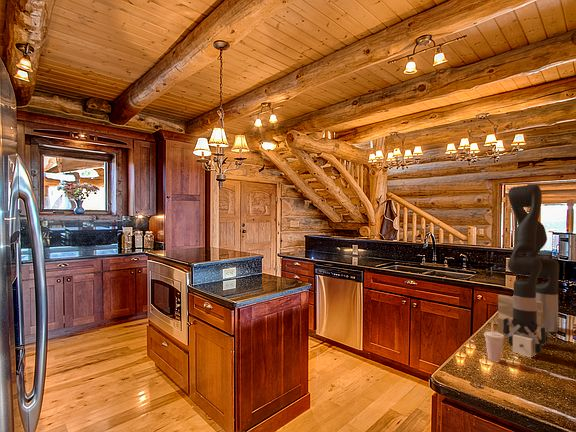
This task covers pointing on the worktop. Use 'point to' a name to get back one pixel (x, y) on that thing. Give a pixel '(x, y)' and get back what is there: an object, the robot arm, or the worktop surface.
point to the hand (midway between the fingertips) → (524, 349)
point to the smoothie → (494, 344)
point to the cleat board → (507, 312)
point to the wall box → (524, 345)
